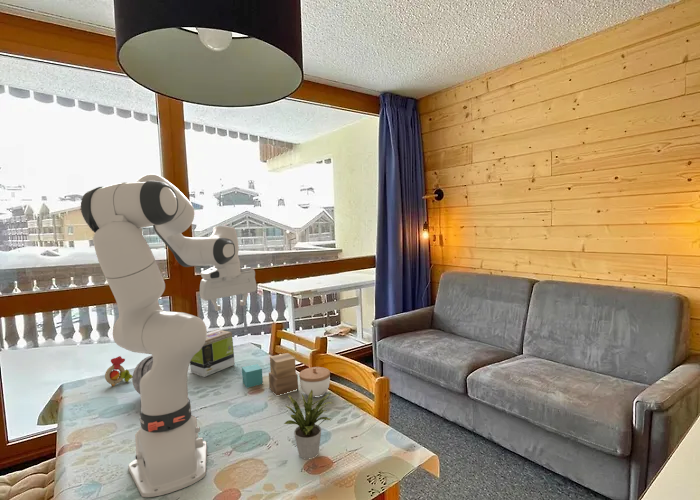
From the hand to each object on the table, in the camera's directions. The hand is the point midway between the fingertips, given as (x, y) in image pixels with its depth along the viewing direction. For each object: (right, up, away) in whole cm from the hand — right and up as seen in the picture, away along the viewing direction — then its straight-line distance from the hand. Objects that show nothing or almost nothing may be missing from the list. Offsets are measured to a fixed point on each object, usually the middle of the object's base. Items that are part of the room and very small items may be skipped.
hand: (230, 307), depth 143 cm
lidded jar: (+31, -30, -5) cm, 44 cm away
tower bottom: (+19, -30, -1) cm, 35 cm away
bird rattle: (-46, -31, +10) cm, 57 cm away
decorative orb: (-26, -31, -2) cm, 41 cm away
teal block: (+7, -30, +6) cm, 31 cm away
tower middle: (+19, -24, -1) cm, 31 cm away
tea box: (-14, -29, +22) cm, 39 cm away
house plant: (+34, -33, -41) cm, 62 cm away
